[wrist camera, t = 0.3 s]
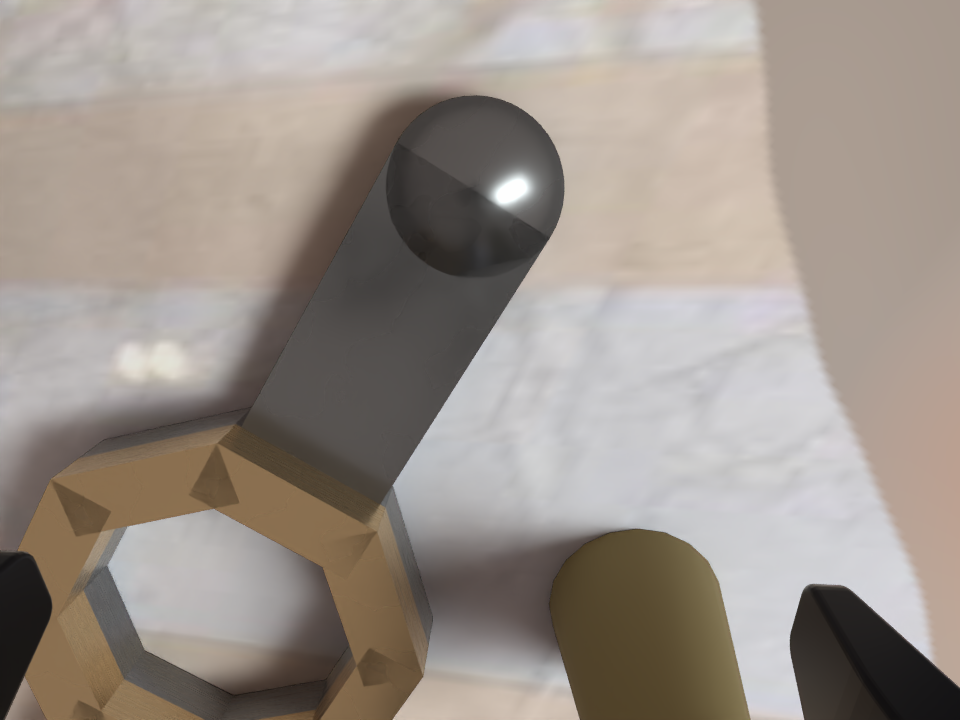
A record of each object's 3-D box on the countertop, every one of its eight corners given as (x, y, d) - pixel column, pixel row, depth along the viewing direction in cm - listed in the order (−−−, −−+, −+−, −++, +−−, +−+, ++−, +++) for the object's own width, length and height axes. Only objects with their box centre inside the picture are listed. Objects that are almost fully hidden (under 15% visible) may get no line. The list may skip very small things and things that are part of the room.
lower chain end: (316, 783, 29) (306, 817, 27) (11, 631, 27) (-17, 658, 26) (705, 230, 22) (718, 236, 20) (324, -16, 20) (310, -28, 19)
